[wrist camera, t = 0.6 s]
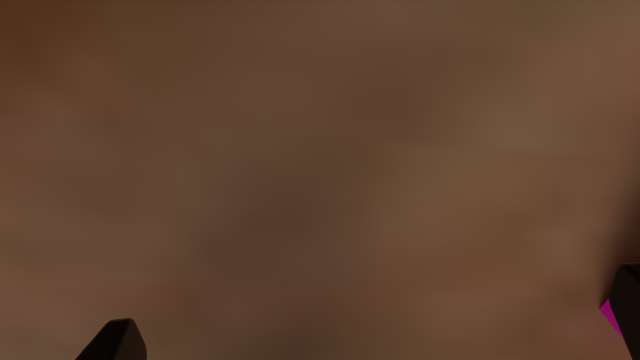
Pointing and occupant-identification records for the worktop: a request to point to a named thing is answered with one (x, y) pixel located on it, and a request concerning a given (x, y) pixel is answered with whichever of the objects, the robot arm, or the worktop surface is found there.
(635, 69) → the worktop surface
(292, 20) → the worktop surface
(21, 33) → the worktop surface
